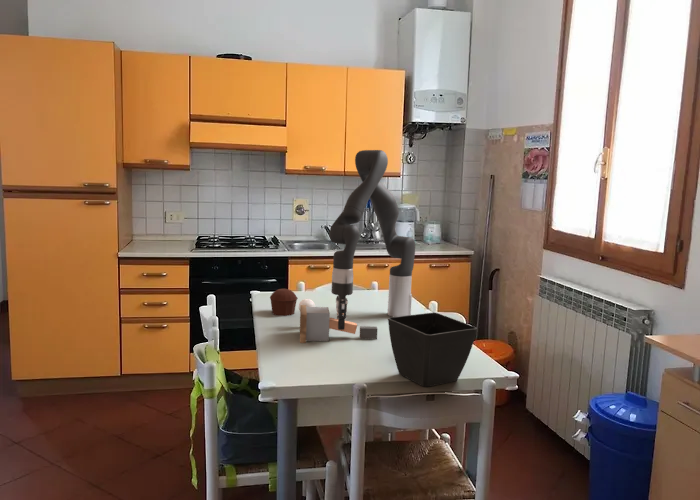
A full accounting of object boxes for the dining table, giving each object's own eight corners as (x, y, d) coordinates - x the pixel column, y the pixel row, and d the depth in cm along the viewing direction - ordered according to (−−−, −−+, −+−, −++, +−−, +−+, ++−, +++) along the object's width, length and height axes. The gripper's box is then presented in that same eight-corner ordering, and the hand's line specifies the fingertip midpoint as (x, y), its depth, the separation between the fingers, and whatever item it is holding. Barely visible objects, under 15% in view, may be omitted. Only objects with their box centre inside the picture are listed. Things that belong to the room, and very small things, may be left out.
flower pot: (474, 383, 171) (479, 326, 169) (424, 394, 161) (428, 334, 158) (431, 363, 187) (435, 311, 184) (383, 372, 176) (386, 317, 174)
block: (327, 333, 215) (328, 307, 214) (328, 341, 206) (329, 313, 205) (305, 333, 214) (306, 306, 213) (305, 340, 205) (306, 312, 204)
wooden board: (305, 331, 217) (305, 305, 215) (305, 342, 203) (306, 314, 201) (299, 331, 216) (300, 305, 215) (299, 342, 203) (300, 314, 201)
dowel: (354, 331, 213) (356, 323, 212) (355, 334, 210) (357, 325, 209) (310, 322, 211) (313, 313, 210) (311, 324, 208) (313, 315, 207)
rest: (375, 337, 214) (376, 326, 213) (377, 339, 211) (377, 328, 210) (359, 336, 213) (359, 326, 212) (360, 339, 210) (360, 328, 210)
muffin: (264, 311, 244) (264, 288, 242) (287, 308, 250) (288, 285, 249) (279, 318, 234) (279, 293, 233) (302, 315, 241) (303, 291, 240)
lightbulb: (311, 330, 219) (312, 301, 218) (296, 328, 220) (296, 299, 219) (316, 326, 225) (317, 297, 223) (300, 324, 226) (301, 296, 225)
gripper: (355, 284, 201) (353, 333, 204) (351, 277, 215) (349, 322, 218) (333, 284, 201) (331, 333, 203) (330, 276, 215) (328, 322, 217)
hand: (340, 327), depth 210 cm, fingers open, 4 cm apart
